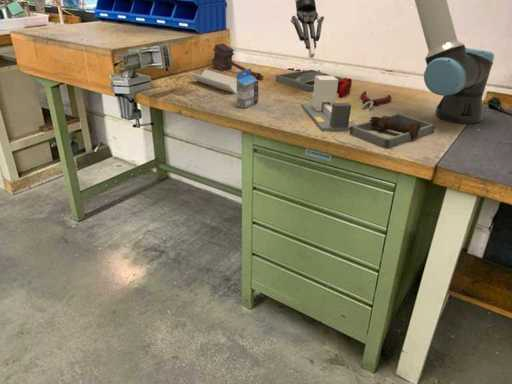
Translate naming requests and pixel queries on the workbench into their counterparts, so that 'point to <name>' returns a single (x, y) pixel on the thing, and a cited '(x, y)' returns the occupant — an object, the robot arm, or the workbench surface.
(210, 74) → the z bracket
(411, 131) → the bolt
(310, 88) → the bracket parts frame
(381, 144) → the bolt parts frame
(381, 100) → the pliers
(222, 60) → the hammer
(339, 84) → the mechanical linkage
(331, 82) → the cream upright block
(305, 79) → the metal bracket
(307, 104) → the rail board
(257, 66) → the workbench surface
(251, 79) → the label tape box
